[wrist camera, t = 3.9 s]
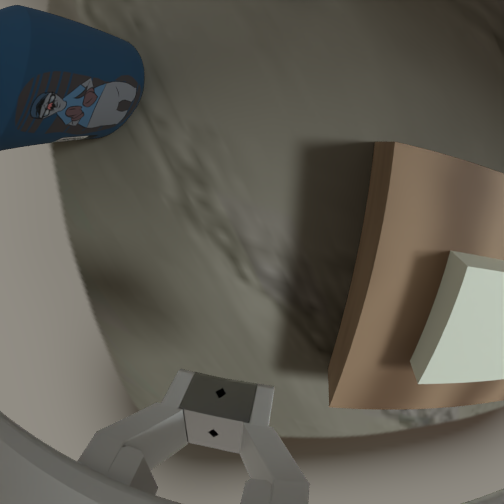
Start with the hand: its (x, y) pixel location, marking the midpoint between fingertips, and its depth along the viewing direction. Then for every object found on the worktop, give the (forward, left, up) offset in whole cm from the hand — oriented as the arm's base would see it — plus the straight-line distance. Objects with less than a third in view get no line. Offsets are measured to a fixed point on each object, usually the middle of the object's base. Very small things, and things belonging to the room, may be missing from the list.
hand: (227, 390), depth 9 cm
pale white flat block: (-14, 0, -7) cm, 16 cm away
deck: (-16, 0, -11) cm, 20 cm away
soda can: (+12, -11, -11) cm, 19 cm away
